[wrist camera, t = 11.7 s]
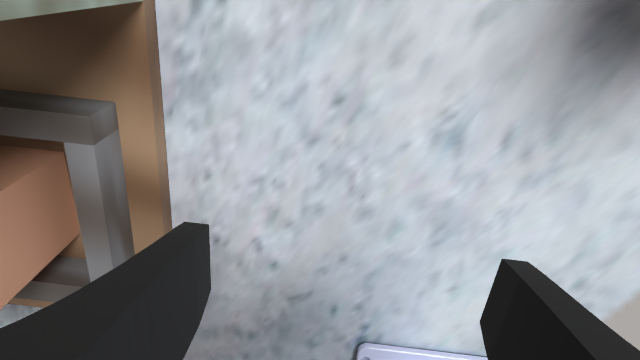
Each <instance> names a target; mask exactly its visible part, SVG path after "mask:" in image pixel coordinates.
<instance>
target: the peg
mask: <svg viewBox="0 0 640 360" xmlns="http://www.w3.org/2000/svg"><path fill="white" fill-rule="evenodd" d="M79 234H80V232H79V227H78V222H77V217H76V212H75V206H74V201H73V196H72V191H71V186H70V181H69V176H68V171H67V166H66V161H65V156H64V152H58V151H49V150H40V149H31V148H22V147H13V146H4V145H0V310H1V309H2V308H3V307H4V306H5V305H6V304H7V303H8V302H9V301H10V300H11V299H12V298H13V297H14V296H15V295H16V294H17V293H18V292H19V291H20V290H21V289H22V288H23V287H24V286H26V285H27V284H28V283H29V282H30V281H31V280H32V279H33V278H34V277H35V276H36V275H37V274H38V273H39V272H40V271H41V270H42V269H43V268H44V267H45V266H46V265H47V264H48V263H50V262H51V261H52V260H53V259H54V258H55V257H56V256H57V255H58V254H59V253H60V252H61V251H62V250H63V249H64V248H65V247H66V246H67V245H68V244H69V243H70V242H71V241H72V240H73V239H75V238H76V237H77V236H78V235H79Z"/></svg>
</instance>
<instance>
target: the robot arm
mask: <svg viewBox="0 0 640 360" xmlns="http://www.w3.org/2000/svg"><path fill="white" fill-rule="evenodd" d="M210 291H211V276H210V244H209V225H208V224H199V223H190V222H184V223H182V224H180V225H179V226H177V227H176V228H174V229H173V230H171V231H170V232H168V233H167V234H165V235H164V236H162V237H161V238H160V239H158V240H157V241H155V242H154V243H152V244H151V245H149V246H148V247H146V248H145V249H143V250H142V251H140V252H139V253H137V254H136V255H134V256H133V257H131V258H130V259H128V260H127V261H125V262H124V263H122V264H121V265H119V266H117V267H116V268H114V269H112V270H111V271H109V272H107V273H106V274H104V275H102V276H101V277H99V278H97V279H96V280H94V281H92V282H91V283H89V284H87V285H86V286H84V287H82V288H81V289H79V290H77V291H75V292H74V293H72V294H70V295H68V296H66V297H65V298H63V299H61V300H59V301H57V302H55V303H53V304H51V305H49V306H47V307H45V308H43V309H41V310H39V311H37V312H35V313H33V314H31V315H29V316H27V317H25V318H23V319H21V320H19V321H16V322H14V323H12V324H10V325H7V326H5V327H3V328H0V360H183V358H184V356H185V354H186V352H187V350H188V348H189V346H190V343H191V341H192V339H193V337H194V335H195V333H196V331H197V329H198V326H199V324H200V321H201V318H202V315H203V312H204V309H205V306H206V303H207V300H208V297H209V294H210ZM480 325H481V330H482V335H483V340H484V345H485V349H486V354H487V357H479V356H471V355H463V354H454V353H446V352H438V351H430V350H421V349H413V348H405V347H397V346H388V345H380V344H372V343H364V344H361V345H360V346H359V348H358V352H357V358H356V360H640V351H639V350H638V349H637V348H635V347H633V346H632V345H631V344H630V343H628V342H627V341H626V340H625V339H623V338H622V337H620V336H619V335H618V334H617V333H616V332H614V331H613V330H612V329H610V328H609V327H608V326H607V325H605V324H604V323H603V322H602V321H600V320H599V319H598V318H597V317H596V316H594V315H593V314H592V313H591V312H589V311H588V310H587V309H586V308H584V307H583V306H582V305H581V304H580V303H578V302H577V301H576V300H575V299H574V298H572V297H571V296H570V295H569V294H568V293H566V292H565V291H564V290H563V289H562V288H560V287H559V286H558V285H557V284H555V283H554V282H553V281H552V280H551V279H549V278H548V277H547V276H546V275H544V274H543V273H542V272H541V271H539V270H538V269H537V268H535V267H534V266H533V265H531V264H530V263H528V262H525V261H517V260H508V259H502V260H501V263H500V266H499V268H498V271H497V274H496V277H495V280H494V283H493V286H492V288H491V291H490V294H489V297H488V300H487V303H486V305H485V308H484V311H483V314H482V317H481V320H480ZM364 357H368V358H364Z"/></svg>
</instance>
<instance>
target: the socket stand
mask: <svg viewBox="0 0 640 360" xmlns="http://www.w3.org/2000/svg"><path fill="white" fill-rule="evenodd" d="M0 145H4V146H13V147H22V148H31V149H40V150H49V151H58V152H64V156H65V161H66V166H67V171H68V176H69V181H70V186H71V191H72V196H73V201H74V206H75V212H76V217H77V222H78V227H79V232H80V234H79V235H78V236H77V237H76V238H75V239H73V240H72V241H71V242H70V243H69V244H68V245H67V246H66V247H65V248H64V249H63V250H62V251H61V252H60V253H59V254H58V255H57V256H56V257H55V258H54V259H53V260H52V261H51V262H50V263H48V264H47V265H46V266H45V267H44V268H43V269H42V270H41V271H40V272H39V273H38V274H37V275H36V276H35V277H34V278H33V279H32V280H31V281H30V282H29V283H28V284H27V285H26V286H24V287H23V288H22V289H21V290H20V291H19V292H18V293H17V294H16V295H15V296H14V297H13V298H12V299H11V300H10V301H9V302H8V303H9V304H18V305H26V306H34V307H42V308H45V307H47V306H49V305H51V304H53V303H55V302H57V301H59V300H61V299H63V298H65V297H66V296H68V295H70V294H72V293H74V292H75V291H77V290H79V289H81V288H82V287H84V286H86V285H87V284H89V283H91V282H92V281H94V280H96V279H97V278H99V277H101V276H102V275H104V274H106V273H107V272H109V271H111V270H112V269H114V268H116V267H117V266H119V265H121V264H122V263H124V262H125V261H127V260H128V259H130V258H131V257H133V256H134V255H136V254H137V253H139V252H140V251H142V250H143V249H145V248H146V247H148V246H149V245H151V244H152V243H154V242H155V241H157V240H158V239H160V238H161V237H162V236H164V235H165V234H167V233H168V232H170V231H171V230H172V220H171V207H170V194H169V181H168V168H167V155H166V142H165V129H164V116H163V103H162V90H161V77H160V64H159V51H158V38H157V25H156V12H155V0H0Z"/></svg>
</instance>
